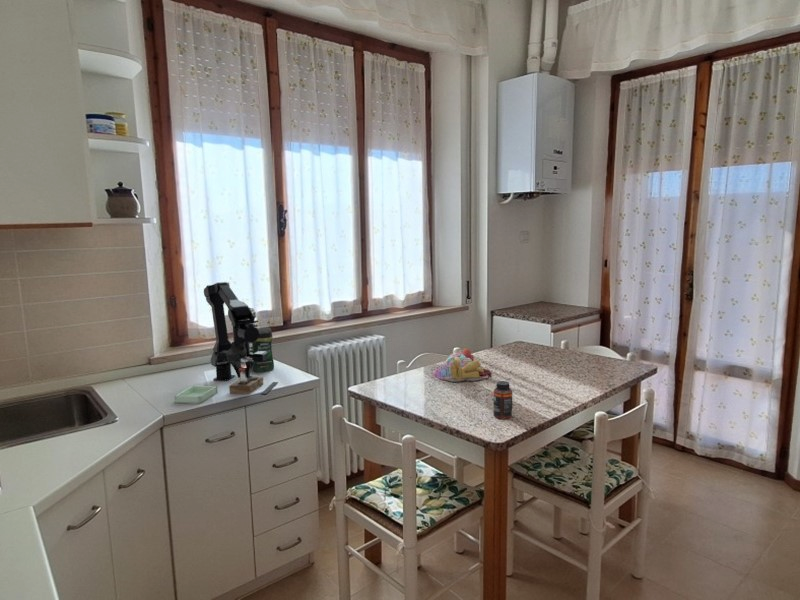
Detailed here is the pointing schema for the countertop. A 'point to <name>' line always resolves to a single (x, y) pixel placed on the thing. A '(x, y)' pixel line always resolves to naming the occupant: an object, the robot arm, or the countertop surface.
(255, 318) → the black white patterned bottle
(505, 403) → the supplement bottle
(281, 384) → the countertop surface
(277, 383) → the strip
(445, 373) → the colorful dessert plate
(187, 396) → the tray
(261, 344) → the coffee jar
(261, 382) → the block
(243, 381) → the lock pin
